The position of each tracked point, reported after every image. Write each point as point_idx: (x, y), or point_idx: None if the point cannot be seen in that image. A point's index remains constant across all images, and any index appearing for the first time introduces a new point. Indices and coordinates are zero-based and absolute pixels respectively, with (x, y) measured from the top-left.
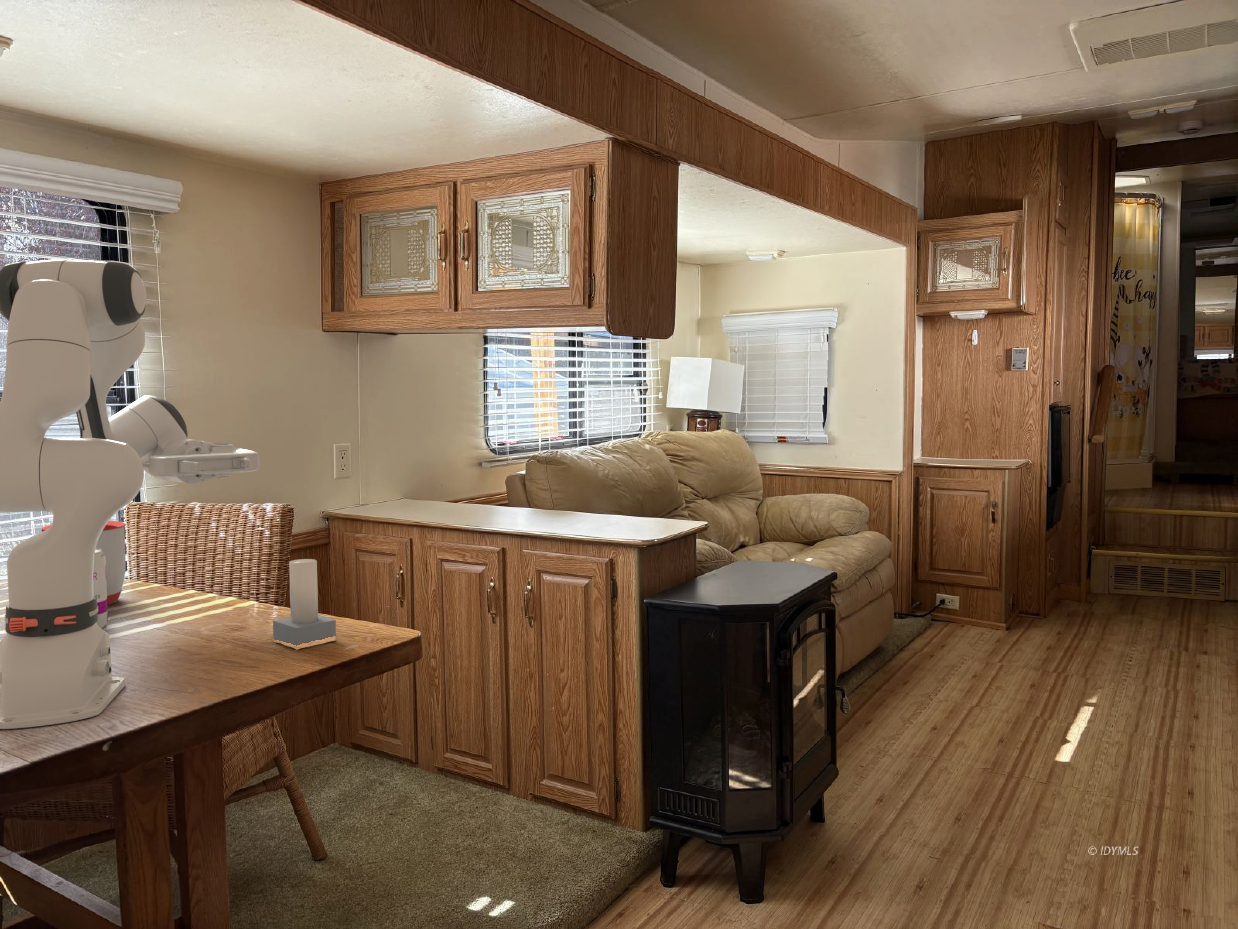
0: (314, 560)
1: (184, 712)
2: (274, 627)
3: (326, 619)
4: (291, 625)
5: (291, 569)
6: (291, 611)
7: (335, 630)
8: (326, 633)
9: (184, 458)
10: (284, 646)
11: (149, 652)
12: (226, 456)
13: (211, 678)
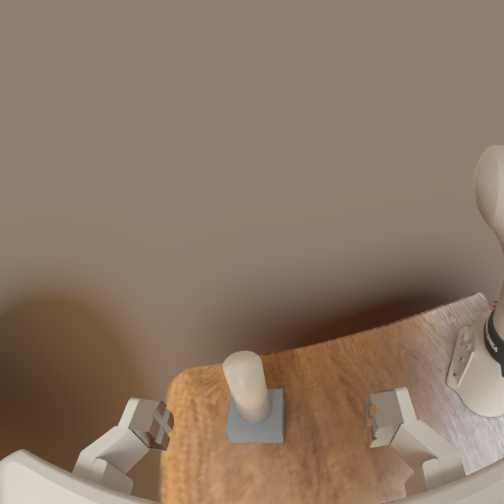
0: (227, 360)
1: (412, 317)
2: (282, 432)
3: None
4: (279, 400)
5: (262, 369)
6: (269, 405)
7: None
8: None
9: (438, 487)
10: (284, 421)
11: None
12: (152, 501)
13: (383, 369)
